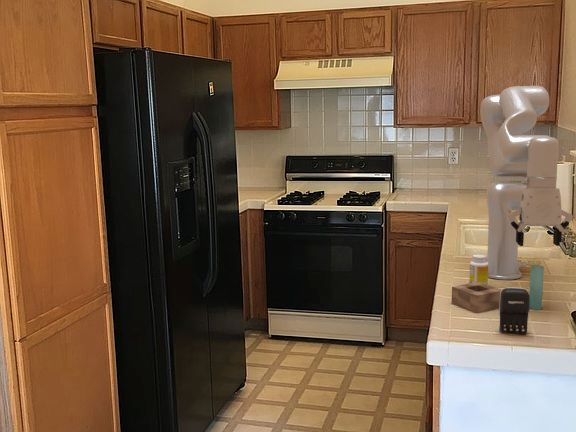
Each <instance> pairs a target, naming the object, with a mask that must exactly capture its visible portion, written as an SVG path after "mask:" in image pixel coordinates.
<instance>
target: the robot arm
mask: <svg viewBox="0 0 576 432" xmlns="http://www.w3.org/2000/svg"><path fill="white" fill-rule="evenodd" d="M549 106H550V94H549V92H548V91H547V89H546V88H545V87H543V86H542V85H517V86H515V85H514V86H509V87H506V88H505V89H503V90H502V91H501V93H500V94H492V95H488V96H486V97H485V98H483V99H482V101H481V104H480V109H479V110H480V111H479V112H480V113H479V114H480V119H481V124H482V126H483V129H484V130H483V131H485V134H486V138H487V146H488V147H487V148H488V161H489V162H488V164H489V171H490V174H491V175H492V176H493V177H495V178H500V179H503V178H505V179H519V178H520V179H521V180H499V181H494V182H492V183H490V184H489V185H488V187H487V189H486V202H487V209H488V210H487V211H488V227H487V228H488V231H487V232H488V234H487V235H488V236H487V255H486V262H488V279H494V280H502V281H503V280H505V281H506V280H518V279H520V278H522V276H523V274H522V272H521V270H520V269H521V268H527V266H528V263H527V261H524V260H523V261H518V255H519V254H518V253H519V246H520V247H524V242H525V241H524V239H525V238H524V236H525V232H524V229H526V227H528V226H529V227H530V226H531V227H533V226H535V227H536V226H537V227H538V226H542V227H546V226H548V227H550V226H553V227H554V228H555V229H554V230H553V235H552V236H553V238H552V245H555V246H556V247H560V245H561V244H560V243H562V236H563V234H562V233H563V232H564V231H565V229H566V228H568V226H569V225H570V223H571V221H572V219H573V217H574V215H573V214H571V213H569V212H567V211H565V210H563V209H562V196H561V190H560V188H559V187H557V180H558V179H557V177H558V163H559V161H558V160H559V140H558V138H556V137H551V136H550V135H546V134H545V135H544V134H543V135H542V134H538V135H535V134H526V135H522V134H525V133H528V131H531V130H532V129H533V128H534V127H535V126H536V124H537V120H538V117H540V116H542V115H543V114H544V113H546V111H548V108H549ZM562 216H563V217H564V220H563V221H562ZM516 217H518V219H519V221H518V219H517V218H516Z"/></svg>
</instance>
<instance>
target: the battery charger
mask: <svg viewBox="0 0 576 432" xmlns="http://www.w3.org/2000/svg"><path fill="white" fill-rule="evenodd" d="M501 289H502V290H501V292H500V302H499V308H498V310H499V311H498V312H499V314H498V315H499V320H498V322H499V324H498V330H499V332H501V333H502V334H507V335H526V334H527V333H528V320H529V313H530V310H531V309H530V295H529V291H528V289H526V288H525V287H510V286H509V287H508V286H507V287H504V288H501Z"/></svg>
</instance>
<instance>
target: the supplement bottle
mask: <svg viewBox="0 0 576 432" xmlns="http://www.w3.org/2000/svg"><path fill="white" fill-rule="evenodd" d="M468 279H469V283H475V282H480V283H483V284H486V285H489V277H488V262H487V255H485V254H474V255H472V260H471V261H470V262H469V278H468ZM469 283H468V284H469Z"/></svg>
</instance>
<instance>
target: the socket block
mask: <svg viewBox="0 0 576 432" xmlns="http://www.w3.org/2000/svg"><path fill="white" fill-rule="evenodd" d="M502 289H503V288H498V287H495V286H492V285H489V284H488V285H486V284H483V283H480V282H475V283H465V284H460V285H453V286H451V304H452V305H454V306H458V307H459V308H462V309H465V310H467V311H469V312H473V313H475V314H479V313H483V312H488V311H492V310H497V309H498V310H499V302H500V292H501V290H502Z"/></svg>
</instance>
